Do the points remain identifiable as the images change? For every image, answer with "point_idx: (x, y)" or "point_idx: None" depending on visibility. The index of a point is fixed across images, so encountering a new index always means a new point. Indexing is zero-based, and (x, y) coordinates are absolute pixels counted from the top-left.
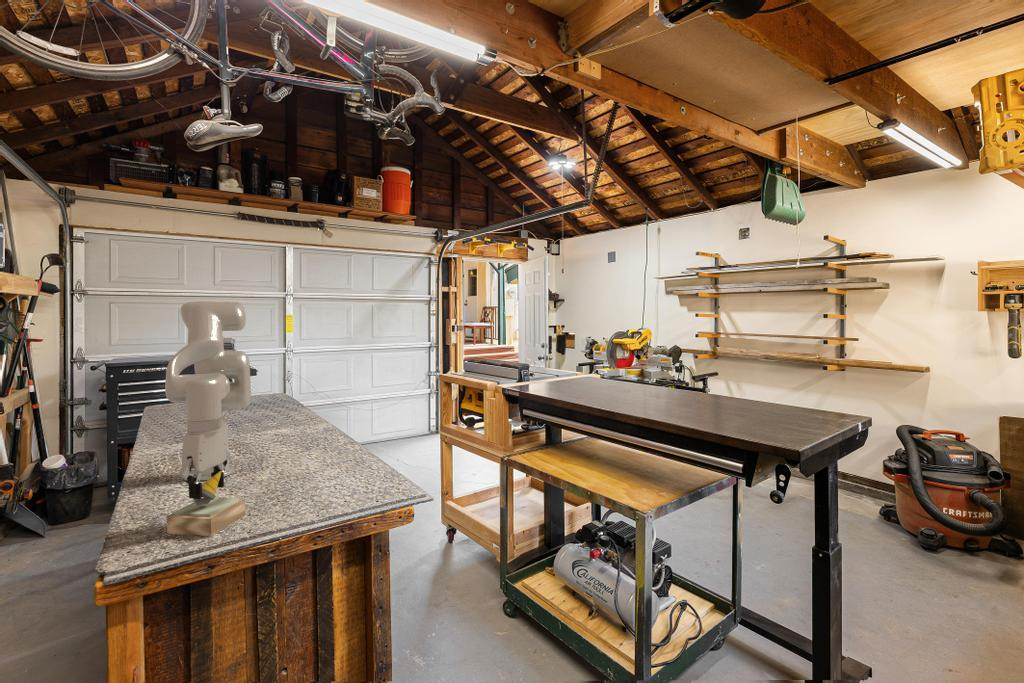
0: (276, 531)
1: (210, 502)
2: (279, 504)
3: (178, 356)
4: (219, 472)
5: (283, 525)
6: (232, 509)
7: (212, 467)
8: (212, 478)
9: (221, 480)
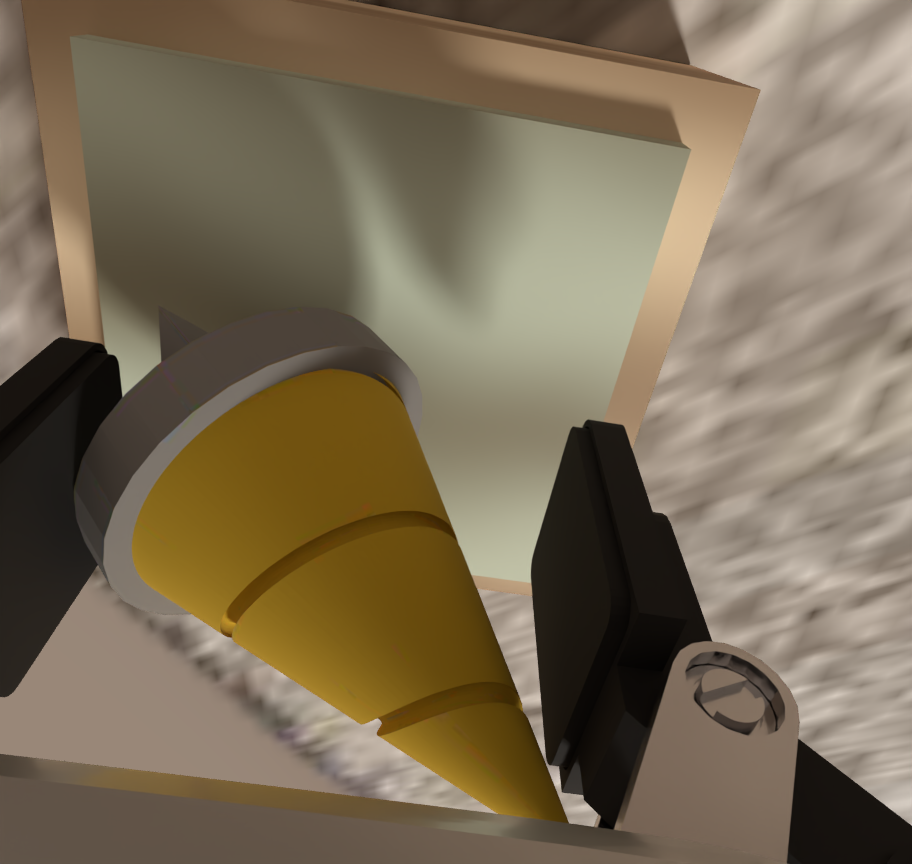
0: (289, 744)
1: (449, 357)
2: (736, 636)
3: None
4: None
5: (369, 750)
6: None
7: (628, 789)
8: (343, 707)
9: (540, 654)
